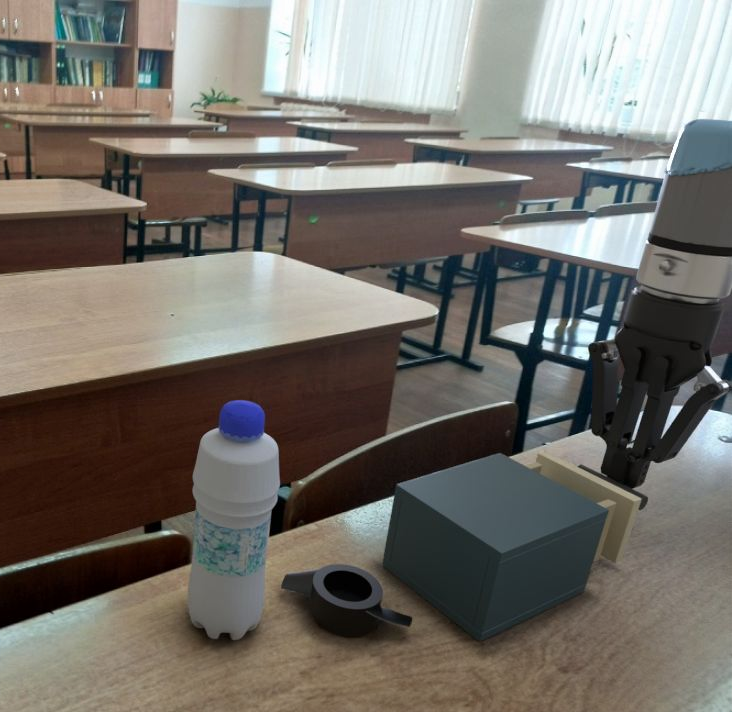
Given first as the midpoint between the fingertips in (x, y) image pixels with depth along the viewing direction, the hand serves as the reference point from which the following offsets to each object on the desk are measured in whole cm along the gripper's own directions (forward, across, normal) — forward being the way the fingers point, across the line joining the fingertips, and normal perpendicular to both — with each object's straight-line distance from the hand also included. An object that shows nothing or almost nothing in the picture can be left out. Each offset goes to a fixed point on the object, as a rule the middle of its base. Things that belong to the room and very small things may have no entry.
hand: (612, 506), depth 77 cm
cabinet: (+2, 0, -20) cm, 20 cm away
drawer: (+1, 0, -11) cm, 11 cm away
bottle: (+2, -5, -45) cm, 45 cm away
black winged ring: (+2, -2, -35) cm, 35 cm away
